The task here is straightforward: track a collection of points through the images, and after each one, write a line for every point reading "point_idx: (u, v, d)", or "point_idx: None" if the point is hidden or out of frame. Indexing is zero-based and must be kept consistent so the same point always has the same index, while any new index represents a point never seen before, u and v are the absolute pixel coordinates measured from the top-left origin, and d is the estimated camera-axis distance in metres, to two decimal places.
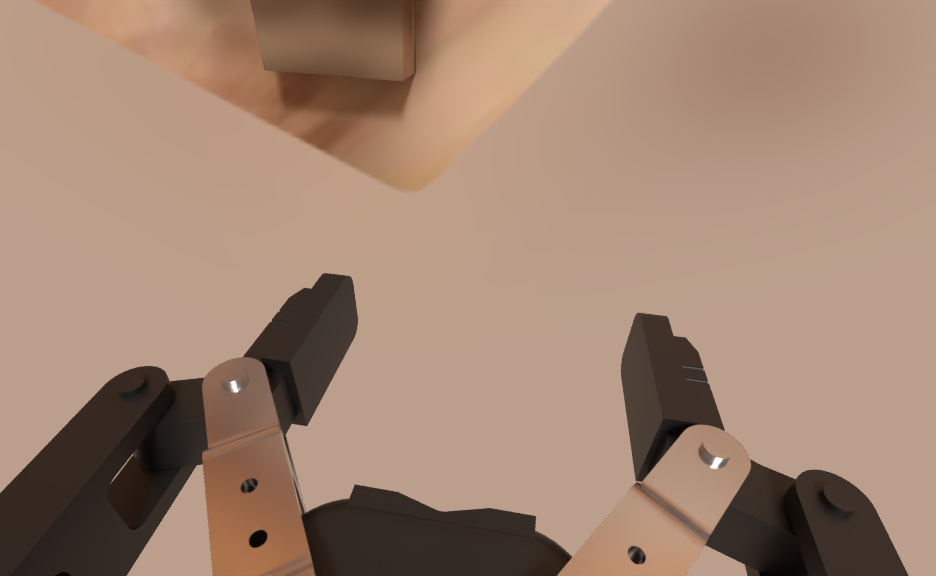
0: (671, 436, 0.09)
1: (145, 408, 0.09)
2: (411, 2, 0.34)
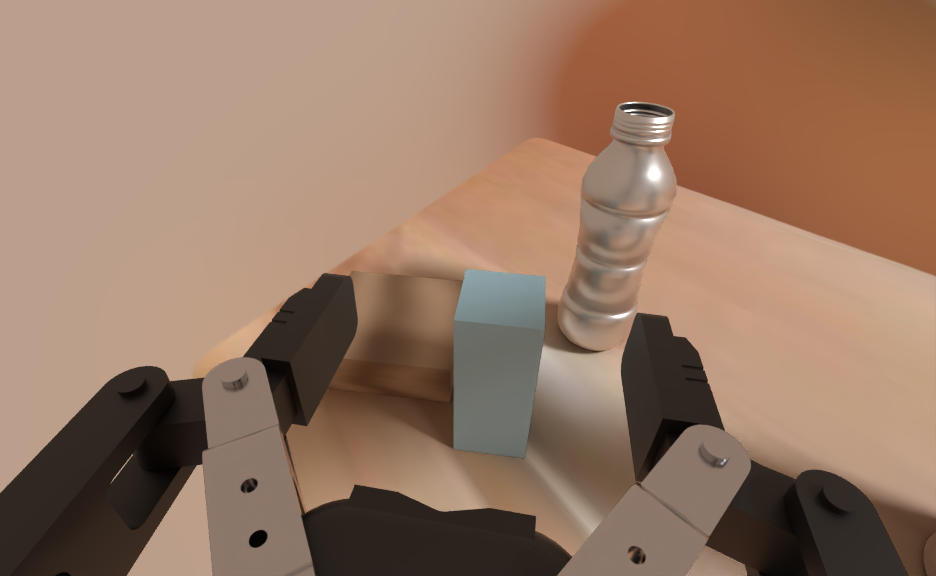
0: (671, 436, 0.09)
1: (145, 408, 0.09)
2: (371, 385, 0.36)
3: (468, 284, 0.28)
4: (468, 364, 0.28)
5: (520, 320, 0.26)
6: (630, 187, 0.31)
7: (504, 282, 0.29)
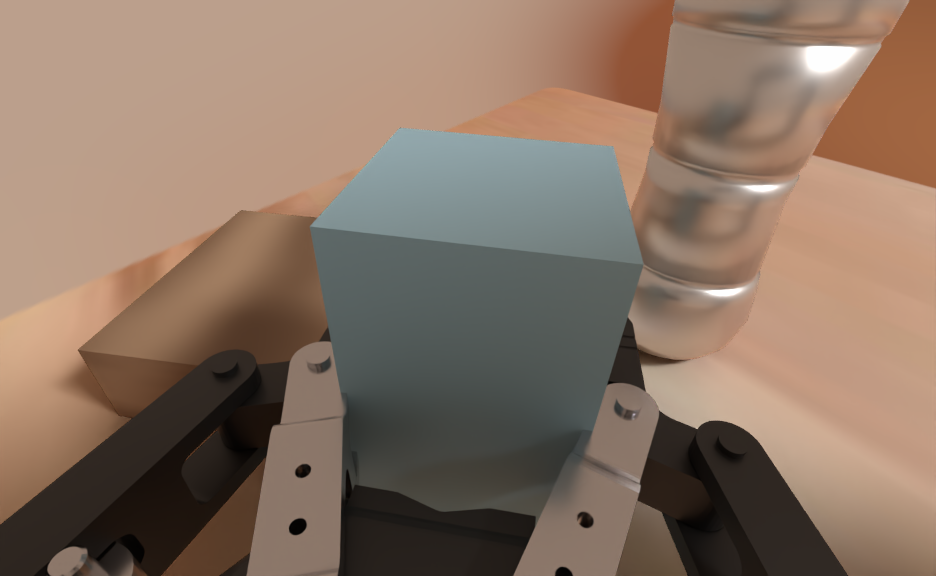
0: None
1: (240, 388, 0.09)
2: None
3: (395, 152, 0.10)
4: (382, 383, 0.09)
5: (549, 234, 0.07)
6: None
7: (498, 152, 0.10)
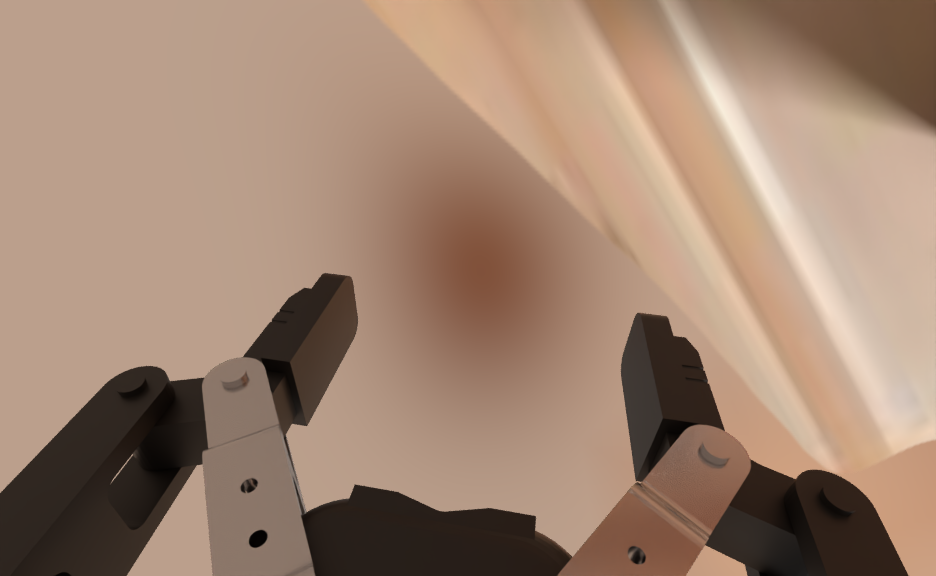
0: (671, 436, 0.09)
1: (145, 408, 0.09)
2: None
3: None
4: None
5: None
6: None
7: None
